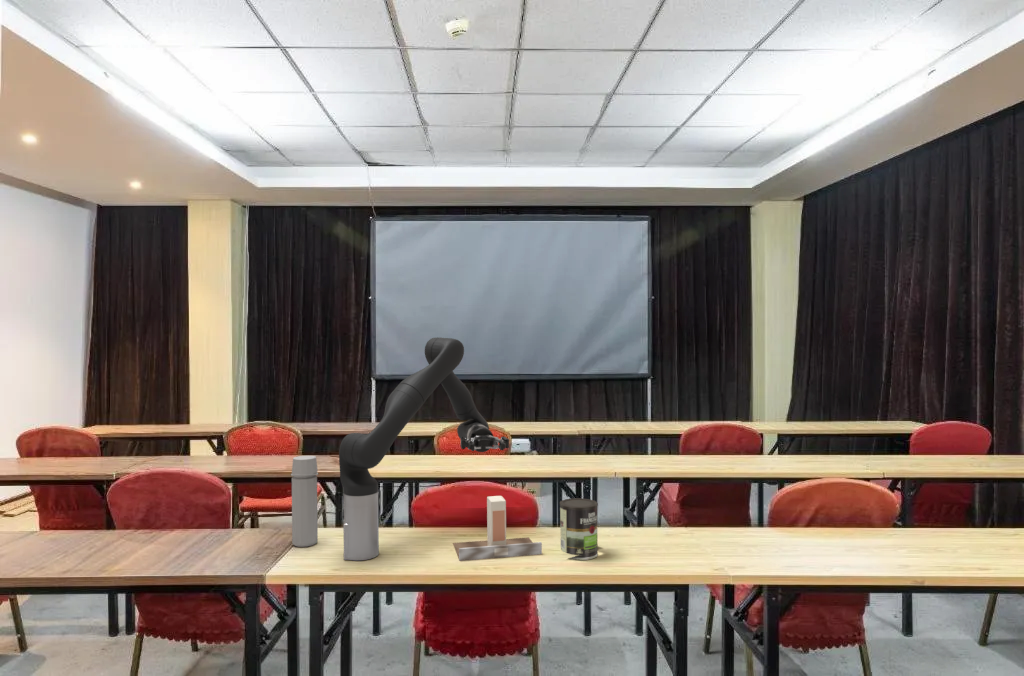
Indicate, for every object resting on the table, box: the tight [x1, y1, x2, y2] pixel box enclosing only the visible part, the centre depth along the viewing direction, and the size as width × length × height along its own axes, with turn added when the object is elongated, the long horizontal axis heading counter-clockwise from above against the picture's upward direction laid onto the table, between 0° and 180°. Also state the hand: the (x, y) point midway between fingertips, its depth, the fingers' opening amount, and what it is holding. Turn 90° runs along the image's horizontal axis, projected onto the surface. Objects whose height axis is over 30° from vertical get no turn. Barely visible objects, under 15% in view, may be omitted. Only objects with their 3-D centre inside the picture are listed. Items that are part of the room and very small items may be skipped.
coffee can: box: [559, 497, 599, 561], centre depth 178 cm, size 10×10×14 cm
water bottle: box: [290, 455, 319, 548], centre depth 190 cm, size 9×8×25 cm
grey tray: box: [452, 537, 543, 562], centre depth 178 cm, size 22×15×4 cm
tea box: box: [486, 495, 507, 546], centre depth 177 cm, size 4×6×14 cm, turn 13°
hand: (488, 447), depth 188 cm, fingers open, 8 cm apart
